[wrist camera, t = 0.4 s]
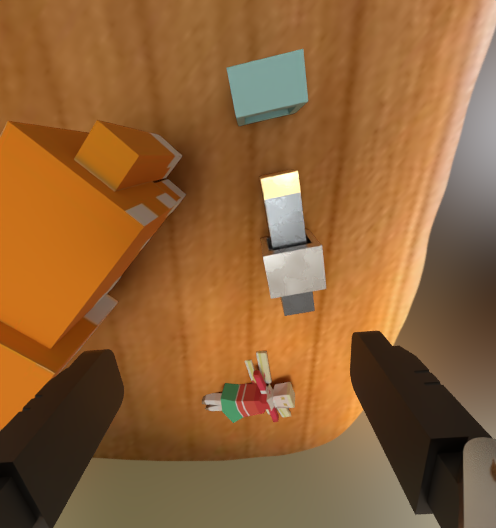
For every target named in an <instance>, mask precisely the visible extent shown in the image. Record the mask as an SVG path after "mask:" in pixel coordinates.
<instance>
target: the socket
mask: <svg viewBox="0 0 496 528" xmlns="http://www.w3.org/2000/svg"><path fill="white" fill-rule="evenodd" d="M227 73H228V78H229V83H230V88H231V94H232V99H233V104H234V109H235V114H236V119H237V122H238V126H242V125H246V124H250V123H255V122H259V121H264V120H268V119H272V118H277V117H281V116H285V115H290V114H294V113H296V112H297V111H298V110H299V109H300V108H301V107H302V106H304V105H305V104H306V103H307V102H308V94H307V84H306V73H305V63H304V52H303V49H300V50H296V51H292V52H288V53H284V54H280V55H276V56H272V57H268V58H264V59H260V60H256V61H252V62H248V63H244V64H240V65H236V66H232V67H228V68H227Z"/></svg>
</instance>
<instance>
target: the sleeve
mask: <svg viewBox="0 0 496 528" xmlns="http://www.w3.org/2000/svg"><path fill="white" fill-rule="evenodd" d="M305 234H306V243H307V244H305V245H299V246H294V247H289V248H284V249H278V250H273V251H272V246H271V240H270V236H269V237H263V238H260V241H261V247H262V254H263V259H264V265H265V270H266V275H267V280H268V285H269V290H270V296H271V299H272V298H277V297H283V296H289V295H294V294H300V293H306V292H311V291H317V290H323V289H326V281H325V271H324V260H323V250H322V245H321V244H320V242H319V241H318V240H317V239H316V238H315V236H314V235H313V234H312V233H311V232H310V230H309V229H305Z"/></svg>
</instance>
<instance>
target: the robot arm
mask: <svg viewBox="0 0 496 528" xmlns="http://www.w3.org/2000/svg"><path fill="white" fill-rule="evenodd" d="M350 376H351V382H352V385H353V388H354V391H355V393H356V395H357V397H358V399H359V401H360V403H361V405H362V407H363V409H364V411H365V413H366V415H367V417H368V419H369V422H370V423H371V425H372V428H373V430H374V432H375V434H376V436H377V438H378V440H379V442H380V444H381V446H382V448H383V450H384V452H385V454H386V456H387V458H388V460H389V462H390V464H391V466H392V468H393V470H394V472H395V474H396V476H397V478H398V480H399V482H400V485H401V487H402V489H403V490H404V493H405V495H406V497H407V499H408V501H409V503H410V505H411V507H412V509H413V511H414V513H415V514H434V516H435V518H436V520H437V521H438V523H439V525H440V527H441V528H496V439H493V438H492V437H491V436H490V435H489V434H488V433H487V432H486V431H485V430H484V429H483V428H482V426H481V425H480V424H479V423H478V422H477V421H476V420H475V419H474V418H473V417H472V416H471V415H470V414H469V413H468V411H467V410H466V409H465V408H464V407H463V406H462V405H461V404H460V403H459V402H458V401H457V400H456V398H455V397H453V395H452V394H451V393H450V392H449V391H448V390H447V389H446V388H445V387H444V386H443V385H441V384H440V381H439V380H438V379H437V378H436V377H435V376H434V375H433V374H432V373H430V372H429V369H428V368H427V367H426V366H425V365H424V364H423V363H422V362H421V361H420V360H419V359H418V358H417V357H416V356H415V355H413V354H412V353H410V352H409V351H407V350H405V349H404V348H402V347H400V346H392V345H391V344H390V343H389V341H388V340H387V339H386V338H385V337H384V335H383V334H382V333H381V332H380V331H367V332H354V333H353V335H352V344H351V363H350ZM123 396H124V386H123V382H122V379H121V376H120V372H119V369H118V366H117V363H116V359H115V356H114V353H113V352H112V351H111V350H109V349H107V350H94V351H85V352H83V353H82V354H81V355H80V356H79V357H78V358H77V359H76V360H75V361H74V362H73V363H72V364H71V365H70V367H69V368H67V369H65V370H64V371H62V372H61V373H59V374H58V375H57V376H55V377H54V378H52V379H51V380H49V381H48V382H47V383H46V384H45V385H44V386H43V387H42V389H41V390H40V391H39V392H38V393H37V394H36V395H35V398H32V399H31V400H30V401H29V402H28V403H27V404H26V405H25V406H24V407H23V410H22V411H20V412H18V413H17V414H16V415H15V416H14V417H13V418H12V419H11V421H10V422H9V423H8V424H7V425H6V426H5V427H4V428H3V429H2V430H1V431H0V528H53V527H54V525H55V523H56V521H57V520H58V518H59V516H60V514H61V513H62V511H63V509H64V507H65V505H66V504H67V502H68V500H69V498H70V496H71V494H72V492H73V491H74V489H75V487H76V485H77V484H78V482H79V480H80V478H81V476H82V475H83V473H84V471H85V469H86V467H87V466H88V464H89V462H90V460H91V458H92V457H93V455H94V453H95V451H96V449H97V448H98V446H99V444H100V442H101V440H102V438H103V437H104V435H105V433H106V431H107V429H108V428H109V426H110V424H111V422H112V420H113V419H114V417H115V415H116V413H117V411H118V410H119V408H120V406H121V403H122V400H123Z"/></svg>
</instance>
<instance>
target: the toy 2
mask: <svg viewBox="0 0 496 528" xmlns="http://www.w3.org/2000/svg"><path fill="white" fill-rule="evenodd" d="M256 355H257V360H258V365H259V370H256V371H255V369H254V366H253V363H252V360H246V361H245V363H246V366H247V369H248V372H249V375H250V378H251V381H252V383H255V384H240V385H238V384H229V383H225V386H224V389H223V392H222V393H212V394H208V395H206V396H204V397H203V399H202V404H208V405H207V406H206V408H205V409H206V410H209V411H222V412H223V413H224V414H225V415H226V416H227V417H228V418H229V419H230V420H231V421H232V422H233V423H234V422H236V421H237V420H239V419H241V418H243V417H247V416H252V415H257V414H262V413H264V412H265V410H266V411H267V413H268V414H270V415H271V417H272V420H273V422H277V421H278V418H279V415H278V413H277V410H278V411H279V413H280V414H281V416H282V417H288V416H291V412H290V411H289V410H288V408H294V407H295V393H294V390H293V388H292V385H291V382H285V383H281V384H276V385H275V386H274V389H272V387H271V385H270V384H269V386H266V384H265V383H271V382H272V380H271V375H270V369H269V363H268V357H267V351H258V352H256ZM276 408H277V410H276Z"/></svg>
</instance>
